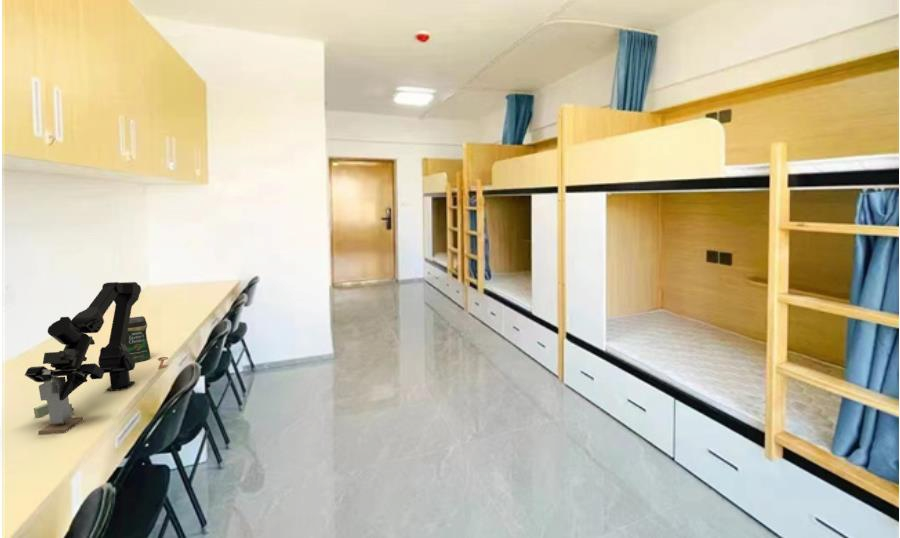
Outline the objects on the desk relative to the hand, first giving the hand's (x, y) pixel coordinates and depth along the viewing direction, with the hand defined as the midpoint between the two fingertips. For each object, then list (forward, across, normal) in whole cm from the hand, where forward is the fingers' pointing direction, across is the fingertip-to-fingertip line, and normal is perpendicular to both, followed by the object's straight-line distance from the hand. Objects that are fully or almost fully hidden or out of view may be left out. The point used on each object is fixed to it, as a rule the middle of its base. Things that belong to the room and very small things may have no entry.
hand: (54, 400), depth 133 cm
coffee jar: (-37, -10, +50) cm, 63 cm away
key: (-32, +3, +46) cm, 57 cm away
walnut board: (+5, 0, +7) cm, 9 cm away
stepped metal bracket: (+5, 0, +5) cm, 7 cm away
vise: (-1, -8, +14) cm, 16 cm away
